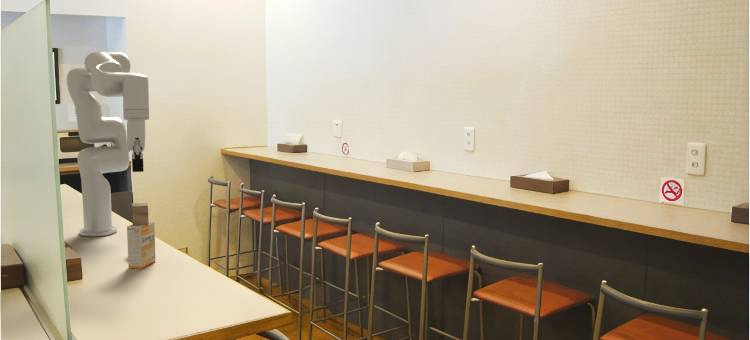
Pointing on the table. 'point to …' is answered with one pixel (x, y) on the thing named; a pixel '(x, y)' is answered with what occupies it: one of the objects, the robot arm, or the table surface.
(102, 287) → the table surface
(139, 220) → the walnut block
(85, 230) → the robot arm
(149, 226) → the supplement box
